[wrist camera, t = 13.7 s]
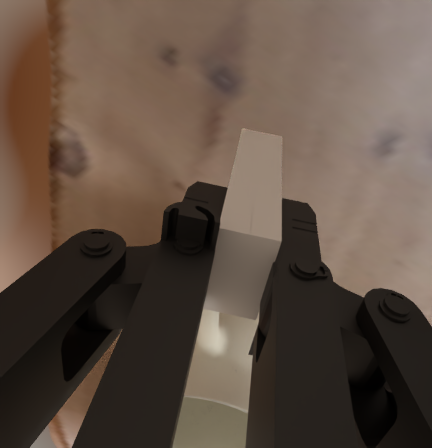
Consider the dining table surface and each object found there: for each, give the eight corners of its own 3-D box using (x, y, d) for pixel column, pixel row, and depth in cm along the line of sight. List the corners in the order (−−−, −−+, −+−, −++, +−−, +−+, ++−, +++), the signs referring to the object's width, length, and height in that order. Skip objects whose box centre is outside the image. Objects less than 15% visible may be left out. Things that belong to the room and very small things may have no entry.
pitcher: (318, 178, 25) (343, 355, 14) (285, 358, 35) (285, 546, 24) (151, 164, 26) (50, 316, 15) (166, 342, 37) (111, 514, 25)
